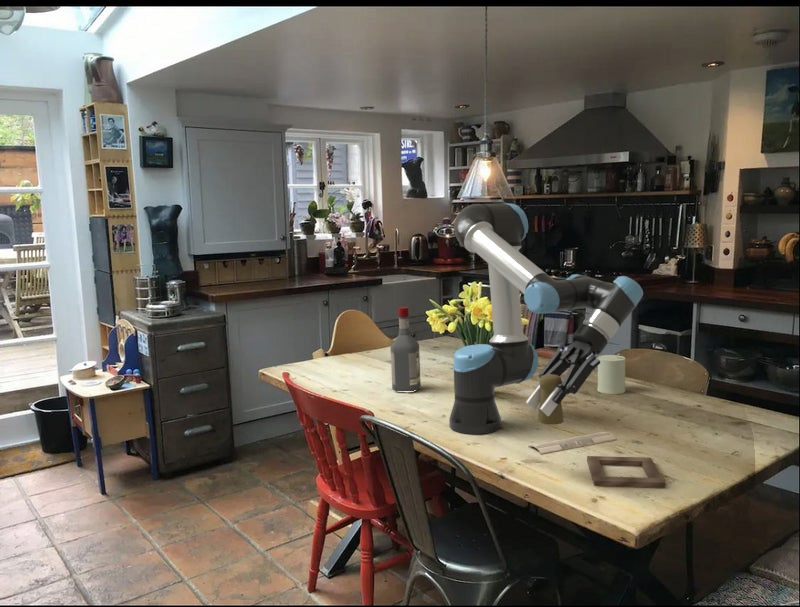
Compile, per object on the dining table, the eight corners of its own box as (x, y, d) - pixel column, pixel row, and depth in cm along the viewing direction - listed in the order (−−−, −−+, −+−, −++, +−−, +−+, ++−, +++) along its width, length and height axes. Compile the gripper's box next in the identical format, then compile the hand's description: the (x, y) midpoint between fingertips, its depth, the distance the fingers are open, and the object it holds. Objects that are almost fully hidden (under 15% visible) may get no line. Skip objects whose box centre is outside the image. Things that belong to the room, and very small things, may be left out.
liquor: (390, 392, 227) (387, 309, 224) (398, 386, 236) (394, 305, 232) (415, 393, 225) (412, 309, 221) (422, 387, 233) (419, 305, 229)
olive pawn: (545, 425, 147) (545, 379, 146) (533, 418, 153) (532, 373, 151) (568, 422, 149) (568, 376, 147) (555, 415, 154) (555, 370, 153)
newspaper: (601, 435, 177) (601, 429, 177) (618, 443, 170) (618, 437, 170) (528, 449, 169) (528, 443, 169) (543, 458, 162) (543, 451, 162)
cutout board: (594, 485, 143) (594, 480, 143) (586, 460, 158) (586, 455, 158) (665, 488, 141) (665, 482, 140) (650, 462, 155) (650, 457, 155)
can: (625, 395, 213) (625, 359, 211) (596, 393, 216) (596, 358, 214) (625, 387, 221) (625, 353, 220) (597, 386, 224) (597, 353, 223)
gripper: (630, 349, 145) (570, 429, 142) (580, 336, 162) (525, 408, 159) (611, 328, 143) (550, 410, 139) (562, 317, 160) (506, 390, 156)
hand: (537, 409), depth 149 cm, fingers closed on olive pawn, 5 cm apart
